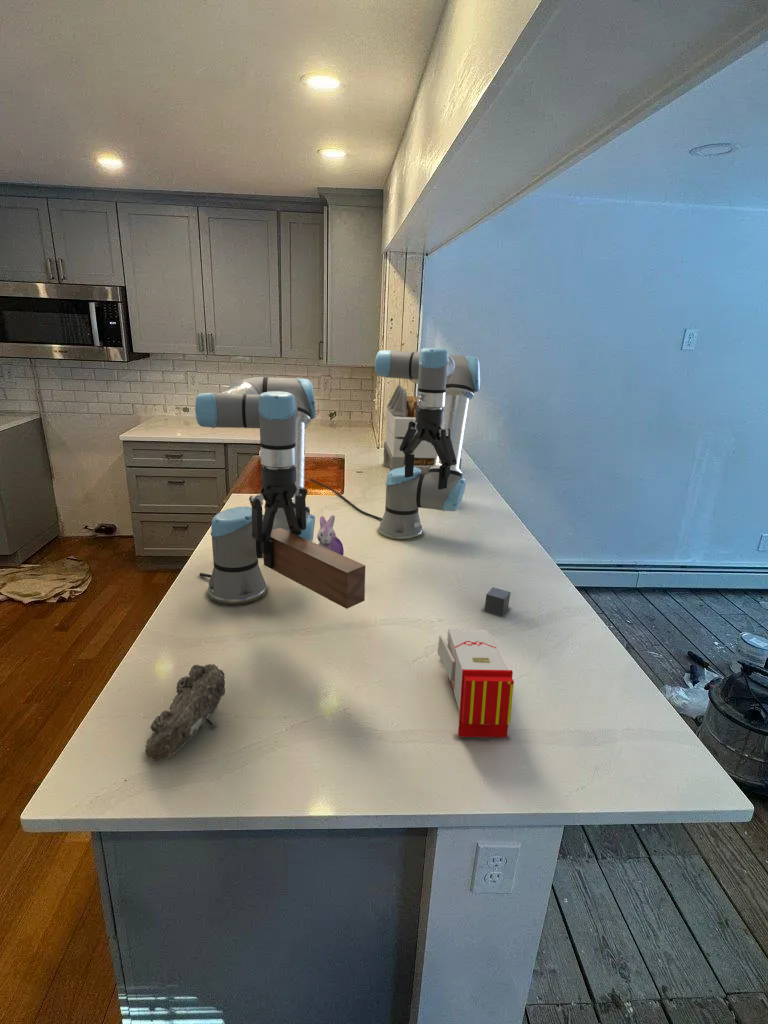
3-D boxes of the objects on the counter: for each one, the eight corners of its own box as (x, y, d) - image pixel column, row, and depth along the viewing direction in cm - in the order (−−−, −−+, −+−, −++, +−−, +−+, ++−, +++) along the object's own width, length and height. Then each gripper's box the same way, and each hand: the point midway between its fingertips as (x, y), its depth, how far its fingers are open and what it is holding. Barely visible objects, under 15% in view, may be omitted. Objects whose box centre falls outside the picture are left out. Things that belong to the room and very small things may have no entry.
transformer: (382, 463, 289) (386, 382, 275) (445, 464, 293) (451, 384, 279) (390, 482, 257) (394, 392, 243) (460, 483, 261) (468, 394, 247)
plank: (281, 559, 134) (280, 527, 132) (364, 600, 116) (365, 565, 114) (263, 565, 131) (262, 532, 128) (346, 609, 113) (347, 572, 110)
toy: (488, 613, 130) (523, 677, 101) (484, 667, 133) (517, 744, 104) (435, 612, 130) (455, 676, 101) (432, 666, 133) (451, 743, 103)
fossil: (174, 665, 116) (226, 633, 111) (207, 696, 118) (259, 665, 113) (119, 753, 96) (179, 718, 91) (161, 787, 99) (221, 755, 94)
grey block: (484, 610, 151) (486, 594, 149) (490, 603, 155) (492, 586, 153) (502, 616, 149) (504, 599, 147) (508, 608, 153) (510, 591, 151)
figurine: (321, 571, 169) (321, 524, 164) (309, 557, 177) (309, 512, 172) (350, 565, 173) (351, 520, 168) (337, 553, 182) (338, 509, 177)
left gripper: (304, 455, 131) (304, 548, 139) (231, 467, 119) (236, 567, 127) (323, 463, 126) (322, 558, 134) (248, 476, 114) (253, 579, 122)
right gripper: (389, 401, 160) (386, 473, 167) (454, 416, 142) (448, 496, 150) (409, 399, 165) (405, 470, 172) (474, 413, 147) (467, 491, 154)
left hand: (280, 562), depth 130 cm, fingers closed on plank, 5 cm apart
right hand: (425, 482), depth 161 cm, fingers open, 13 cm apart
